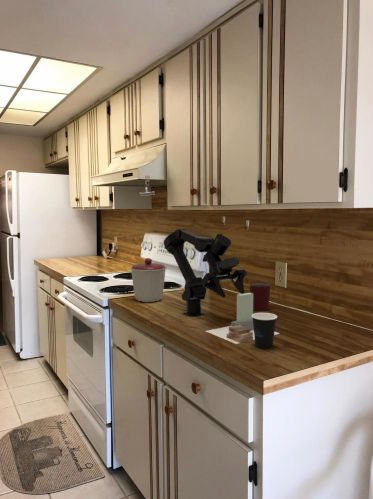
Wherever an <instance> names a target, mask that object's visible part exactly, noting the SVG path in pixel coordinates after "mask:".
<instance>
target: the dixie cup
mask: <svg viewBox="0 0 373 499" xmlns="http://www.w3.org/2000/svg"><path fill="white" fill-rule="evenodd" d="M252 317H253V327H254V337H255V340H254V346H255V347H256V348H258V349H261V350H264V349H265V350H269V349H272V348H273V346H274V341H275V340H274V338H275V335H274V332H276V331H275V330H276V324H277V323H276V322H277V318H278V315H276V314H274V313H269V312H255V313H253V314H252Z"/></svg>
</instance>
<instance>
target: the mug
mask: <svg viewBox="0 0 373 499" xmlns="http://www.w3.org/2000/svg"><path fill="white" fill-rule="evenodd" d="M249 293H253V311H256V312H257V311H258V312H260V311H261V312H265V311H268V310H269V307H270V295H271V284H269V283H262V282H254V283H253V282H252V283H250V285H249Z"/></svg>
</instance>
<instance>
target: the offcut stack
mask: <svg viewBox="0 0 373 499" xmlns="http://www.w3.org/2000/svg"><path fill="white" fill-rule="evenodd" d="M230 326H231V325H230ZM227 338H229V339H232V340H234V341H237V342H239V343H238V344H241V343H246V341H247V342H251V341H254V340H253V332H250V329H248V328H246V327H243V326H241V325H237V326H231V327H229V334H227ZM250 340H251V341H250Z"/></svg>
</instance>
